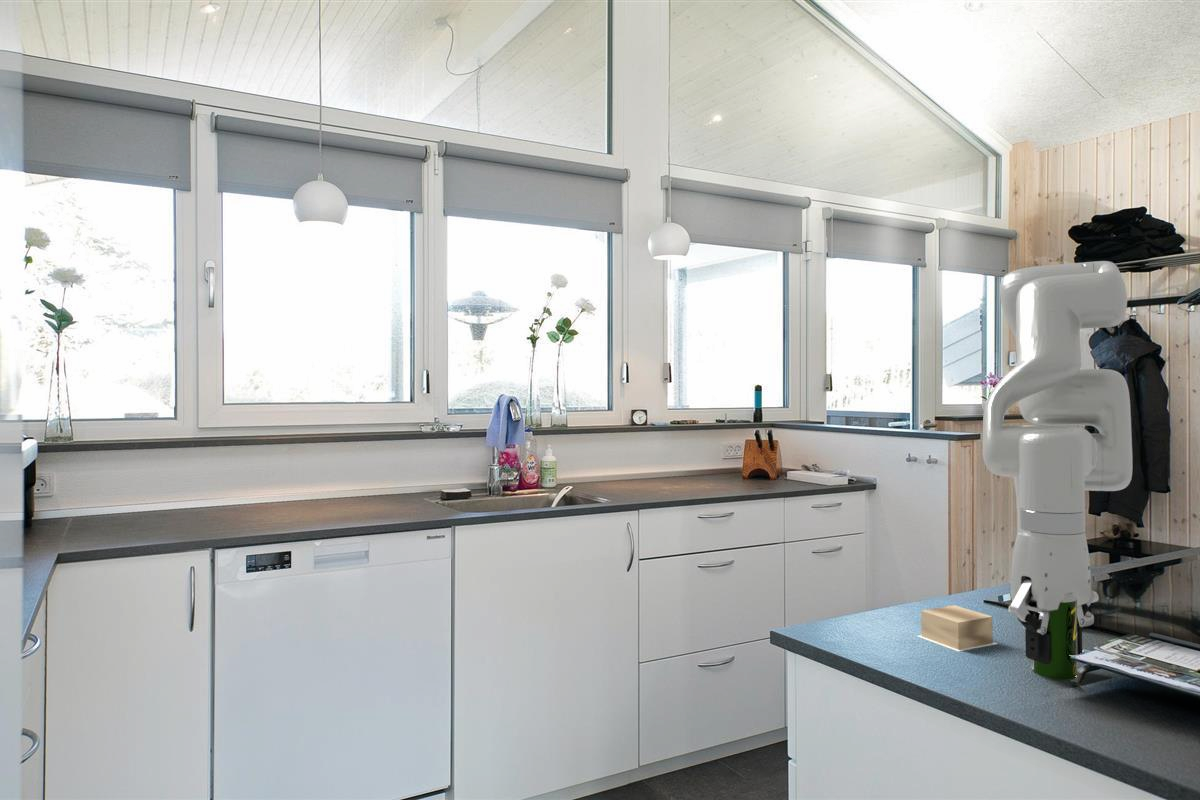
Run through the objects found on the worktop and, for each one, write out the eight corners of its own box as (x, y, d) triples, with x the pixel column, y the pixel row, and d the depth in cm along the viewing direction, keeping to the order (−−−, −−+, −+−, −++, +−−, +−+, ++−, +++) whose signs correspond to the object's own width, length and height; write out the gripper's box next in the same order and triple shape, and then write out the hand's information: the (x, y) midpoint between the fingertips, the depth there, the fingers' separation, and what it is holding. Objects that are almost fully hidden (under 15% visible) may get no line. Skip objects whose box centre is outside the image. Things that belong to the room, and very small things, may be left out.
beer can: (1036, 683, 101) (1035, 593, 101) (1027, 668, 106) (1025, 583, 106) (1083, 687, 99) (1082, 595, 99) (1071, 672, 104) (1070, 585, 104)
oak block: (954, 630, 122) (954, 605, 122) (992, 643, 115) (992, 616, 115) (921, 636, 119) (921, 610, 119) (958, 649, 112) (958, 622, 112)
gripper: (1069, 513, 109) (1070, 639, 109) (981, 524, 102) (983, 658, 103) (1122, 521, 102) (1124, 655, 103) (1032, 533, 96) (1034, 677, 96)
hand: (1053, 655), depth 103 cm, fingers closed on beer can, 5 cm apart
